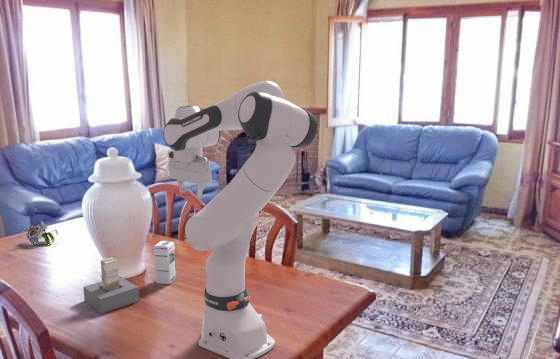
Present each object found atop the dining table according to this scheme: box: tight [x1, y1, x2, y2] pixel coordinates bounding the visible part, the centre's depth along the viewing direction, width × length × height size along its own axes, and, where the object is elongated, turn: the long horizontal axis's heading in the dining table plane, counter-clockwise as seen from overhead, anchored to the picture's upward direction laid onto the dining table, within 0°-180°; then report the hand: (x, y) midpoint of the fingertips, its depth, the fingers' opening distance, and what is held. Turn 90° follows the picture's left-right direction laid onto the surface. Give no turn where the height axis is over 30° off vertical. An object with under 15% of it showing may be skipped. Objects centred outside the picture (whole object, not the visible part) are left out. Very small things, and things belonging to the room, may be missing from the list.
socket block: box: [83, 275, 140, 315], centre depth 164 cm, size 13×13×5 cm
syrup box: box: [153, 240, 178, 285], centre depth 179 cm, size 6×6×14 cm
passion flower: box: [25, 220, 59, 245], centre depth 221 cm, size 11×11×12 cm
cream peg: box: [100, 256, 120, 292], centre depth 163 cm, size 4×4×14 cm
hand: (191, 194), depth 168 cm, fingers open, 8 cm apart
